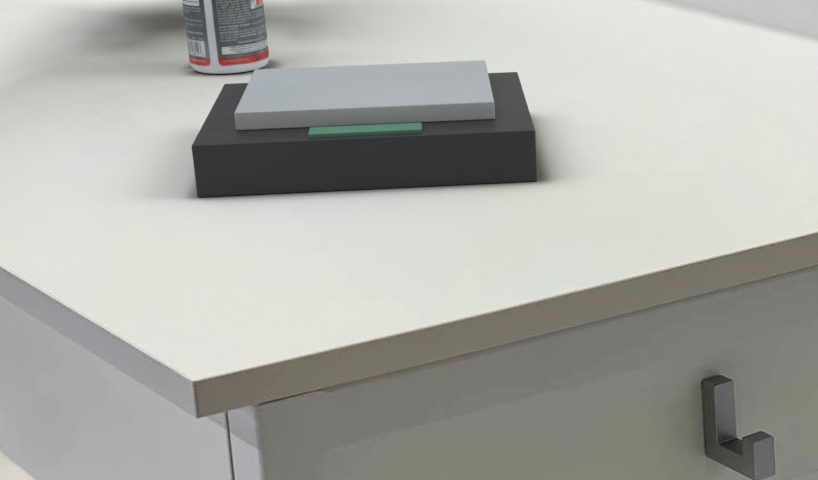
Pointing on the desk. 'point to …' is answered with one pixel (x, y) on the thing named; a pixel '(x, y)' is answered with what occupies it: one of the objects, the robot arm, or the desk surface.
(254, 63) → the pill bottle
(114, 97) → the desk surface
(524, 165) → the scale
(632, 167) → the desk surface
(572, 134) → the desk surface
